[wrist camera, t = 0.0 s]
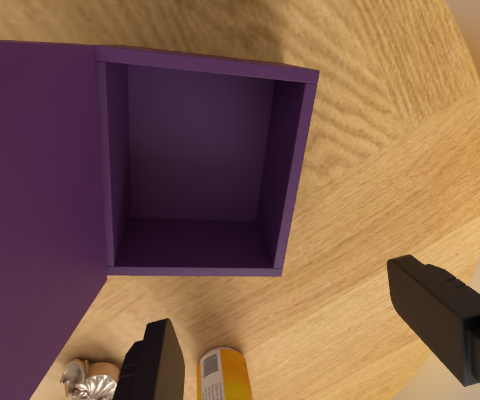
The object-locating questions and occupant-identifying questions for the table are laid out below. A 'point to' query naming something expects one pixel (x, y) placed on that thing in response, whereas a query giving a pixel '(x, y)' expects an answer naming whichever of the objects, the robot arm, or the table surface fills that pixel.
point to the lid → (46, 205)
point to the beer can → (223, 376)
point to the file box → (199, 160)
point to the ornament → (90, 380)
